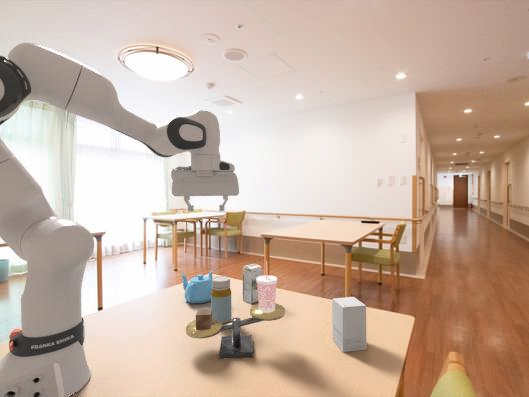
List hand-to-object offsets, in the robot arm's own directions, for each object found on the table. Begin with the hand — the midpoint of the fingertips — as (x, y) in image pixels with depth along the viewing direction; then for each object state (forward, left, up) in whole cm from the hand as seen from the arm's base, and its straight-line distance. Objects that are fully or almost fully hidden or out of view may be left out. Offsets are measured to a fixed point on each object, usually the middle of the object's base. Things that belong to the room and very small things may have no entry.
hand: (206, 211), depth 86 cm
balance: (+4, -11, -39) cm, 41 cm away
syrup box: (+27, +17, -39) cm, 51 cm away
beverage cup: (+12, -15, -28) cm, 34 cm away
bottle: (+8, +7, -39) cm, 41 cm away
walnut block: (-4, -6, -32) cm, 33 cm away
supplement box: (+32, -28, -39) cm, 58 cm away
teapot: (+11, +32, -39) cm, 52 cm away
